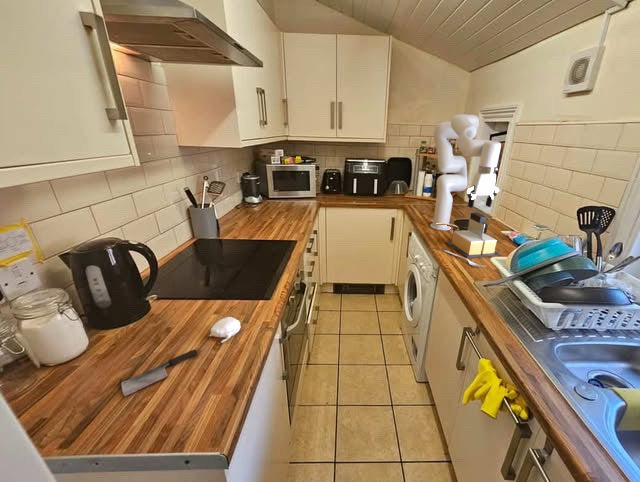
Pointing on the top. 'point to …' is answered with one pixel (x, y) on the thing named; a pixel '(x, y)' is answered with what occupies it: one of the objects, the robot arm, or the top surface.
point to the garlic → (225, 328)
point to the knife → (477, 224)
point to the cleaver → (151, 375)
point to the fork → (466, 259)
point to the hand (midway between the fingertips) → (479, 206)
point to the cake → (473, 244)
